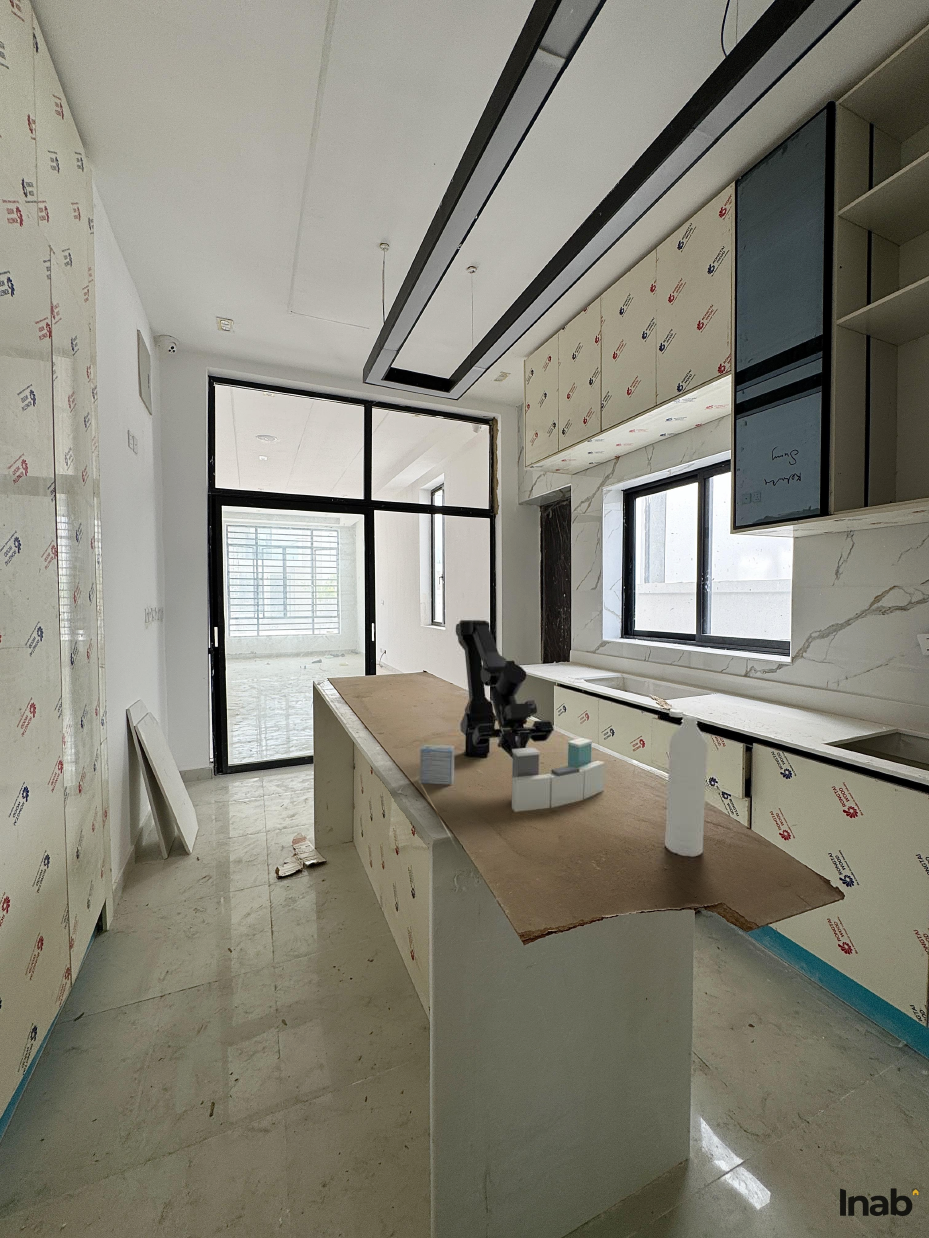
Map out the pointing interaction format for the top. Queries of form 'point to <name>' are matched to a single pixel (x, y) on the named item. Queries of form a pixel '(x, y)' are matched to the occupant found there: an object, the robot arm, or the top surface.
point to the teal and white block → (579, 752)
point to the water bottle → (686, 788)
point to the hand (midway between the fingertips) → (522, 766)
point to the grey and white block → (525, 762)
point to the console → (557, 787)
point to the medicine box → (437, 764)
